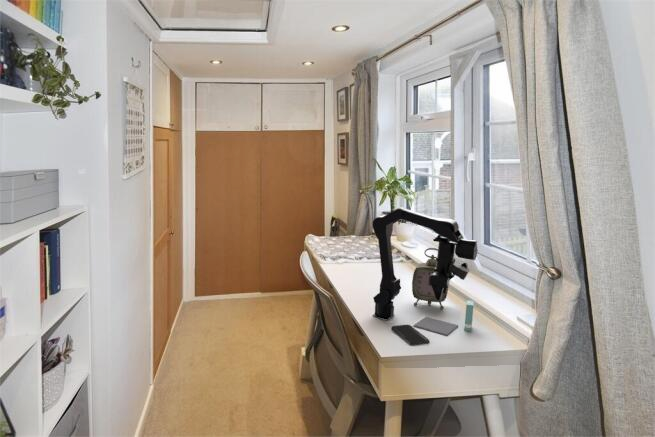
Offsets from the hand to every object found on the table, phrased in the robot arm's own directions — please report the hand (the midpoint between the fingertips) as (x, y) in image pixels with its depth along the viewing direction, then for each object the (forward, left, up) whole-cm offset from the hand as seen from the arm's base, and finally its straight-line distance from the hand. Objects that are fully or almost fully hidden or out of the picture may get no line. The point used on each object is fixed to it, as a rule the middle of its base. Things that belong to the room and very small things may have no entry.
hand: (441, 296), depth 165 cm
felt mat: (-2, +2, -13) cm, 13 cm away
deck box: (+8, +8, -13) cm, 17 cm away
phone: (-6, -12, -13) cm, 19 cm away
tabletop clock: (-13, +21, -13) cm, 28 cm away
